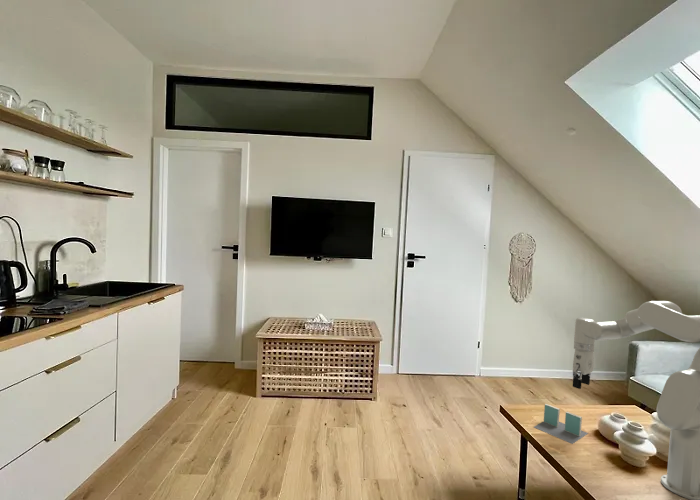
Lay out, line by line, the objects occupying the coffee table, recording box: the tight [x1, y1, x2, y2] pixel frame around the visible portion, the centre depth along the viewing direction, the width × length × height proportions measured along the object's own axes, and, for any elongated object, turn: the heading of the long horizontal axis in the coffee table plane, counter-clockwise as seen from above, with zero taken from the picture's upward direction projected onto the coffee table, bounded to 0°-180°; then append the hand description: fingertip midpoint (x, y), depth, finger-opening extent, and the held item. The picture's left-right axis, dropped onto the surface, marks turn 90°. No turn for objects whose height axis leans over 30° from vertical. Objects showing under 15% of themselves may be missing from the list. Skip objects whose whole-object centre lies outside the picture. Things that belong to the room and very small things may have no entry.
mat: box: [533, 421, 589, 445], centre depth 163 cm, size 16×16×1 cm
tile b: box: [543, 403, 560, 427], centre depth 168 cm, size 6×1×8 cm, turn 37°
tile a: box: [564, 411, 583, 436], centre depth 161 cm, size 6×1×8 cm, turn 37°
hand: (581, 385), depth 165 cm, fingers open, 8 cm apart
